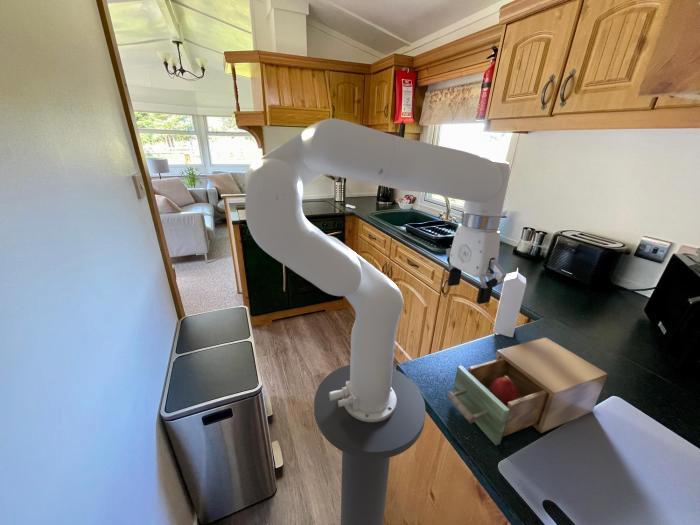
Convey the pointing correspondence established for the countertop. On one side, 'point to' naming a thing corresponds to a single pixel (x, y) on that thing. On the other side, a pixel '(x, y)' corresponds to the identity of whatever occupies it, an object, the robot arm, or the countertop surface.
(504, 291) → the milk
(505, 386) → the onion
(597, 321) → the countertop surface
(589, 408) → the cabinet
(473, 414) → the drawer
